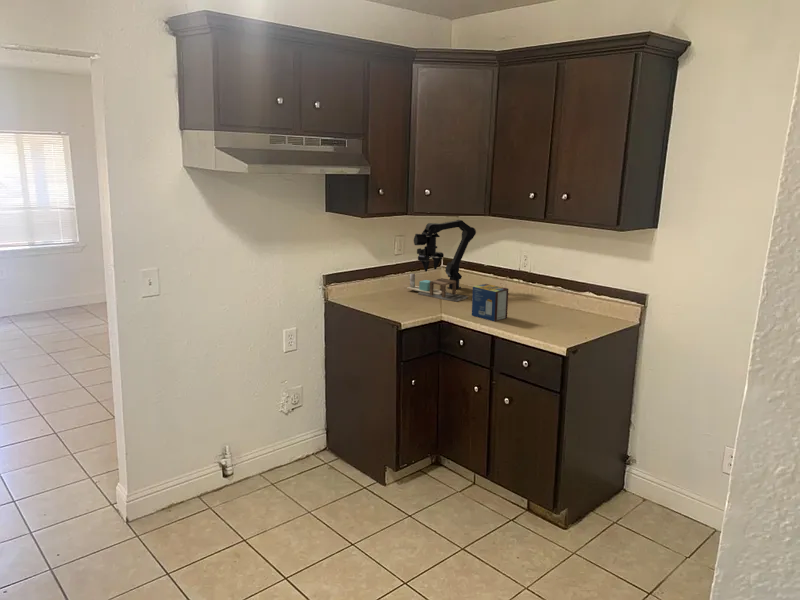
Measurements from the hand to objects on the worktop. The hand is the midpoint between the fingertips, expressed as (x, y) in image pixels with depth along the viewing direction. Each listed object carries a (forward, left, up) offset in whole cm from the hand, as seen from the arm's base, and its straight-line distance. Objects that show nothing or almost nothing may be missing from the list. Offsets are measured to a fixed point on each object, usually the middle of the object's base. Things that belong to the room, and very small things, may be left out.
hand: (430, 270), depth 375 cm
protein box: (+29, +59, -12) cm, 67 cm away
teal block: (+8, +3, -10) cm, 13 cm away
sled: (+8, +3, -11) cm, 14 cm away
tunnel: (+8, +15, -12) cm, 21 cm away
